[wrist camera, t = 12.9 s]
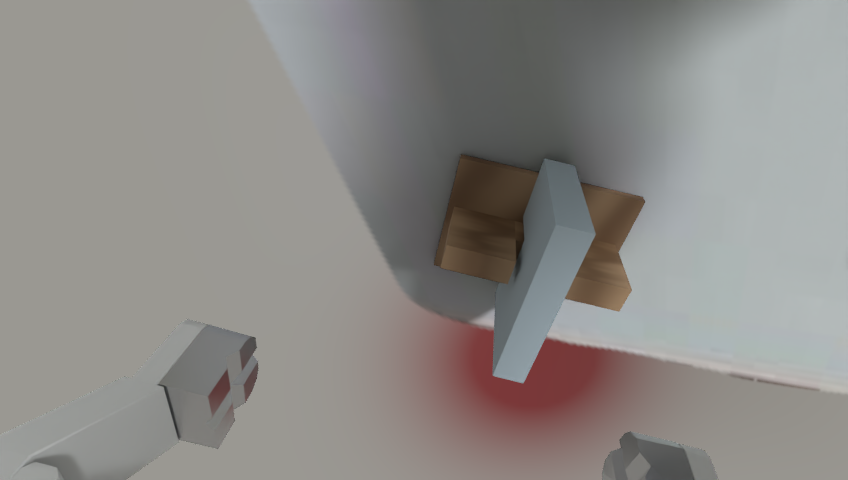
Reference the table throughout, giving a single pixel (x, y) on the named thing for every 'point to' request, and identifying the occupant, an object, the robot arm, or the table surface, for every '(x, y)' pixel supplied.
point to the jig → (504, 230)
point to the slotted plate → (541, 269)
